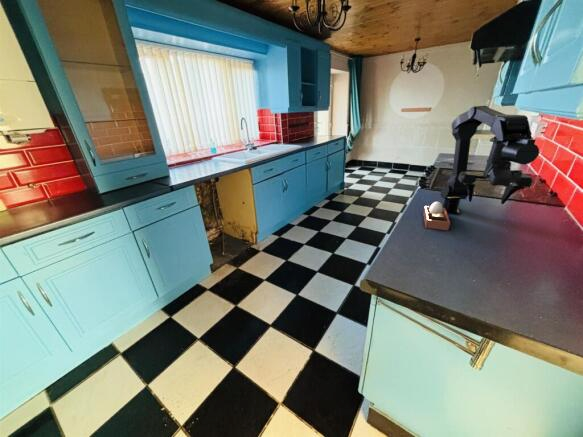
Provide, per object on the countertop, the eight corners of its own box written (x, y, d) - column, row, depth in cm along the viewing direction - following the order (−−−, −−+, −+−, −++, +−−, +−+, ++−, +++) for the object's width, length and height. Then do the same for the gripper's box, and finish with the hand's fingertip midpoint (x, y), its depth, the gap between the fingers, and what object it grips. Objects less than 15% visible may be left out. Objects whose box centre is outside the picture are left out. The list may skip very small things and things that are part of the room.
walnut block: (429, 221, 97) (431, 212, 96) (440, 222, 96) (443, 213, 94) (430, 225, 94) (432, 216, 92) (442, 226, 92) (444, 217, 91)
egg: (440, 214, 102) (443, 200, 99) (441, 219, 98) (445, 204, 95) (427, 213, 104) (430, 199, 101) (428, 217, 100) (431, 203, 97)
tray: (425, 227, 93) (427, 219, 92) (423, 213, 106) (424, 206, 104) (448, 230, 90) (450, 222, 89) (443, 215, 103) (445, 207, 101)
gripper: (470, 161, 73) (458, 208, 80) (550, 164, 66) (529, 214, 73) (463, 155, 83) (453, 197, 89) (533, 156, 75) (516, 202, 82)
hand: (485, 202), depth 83 cm, fingers open, 9 cm apart
